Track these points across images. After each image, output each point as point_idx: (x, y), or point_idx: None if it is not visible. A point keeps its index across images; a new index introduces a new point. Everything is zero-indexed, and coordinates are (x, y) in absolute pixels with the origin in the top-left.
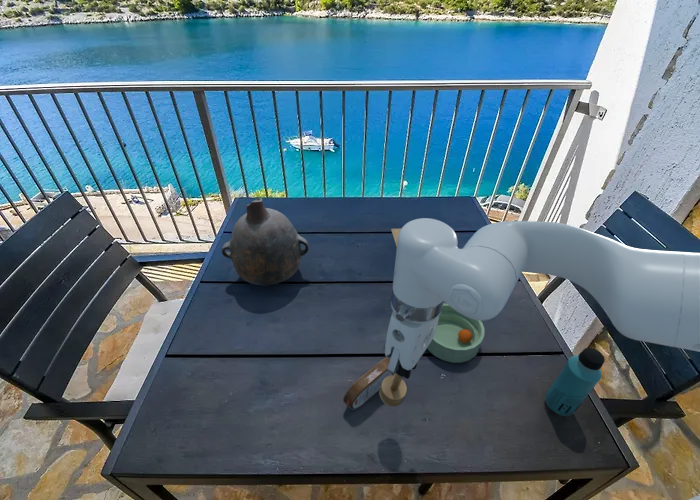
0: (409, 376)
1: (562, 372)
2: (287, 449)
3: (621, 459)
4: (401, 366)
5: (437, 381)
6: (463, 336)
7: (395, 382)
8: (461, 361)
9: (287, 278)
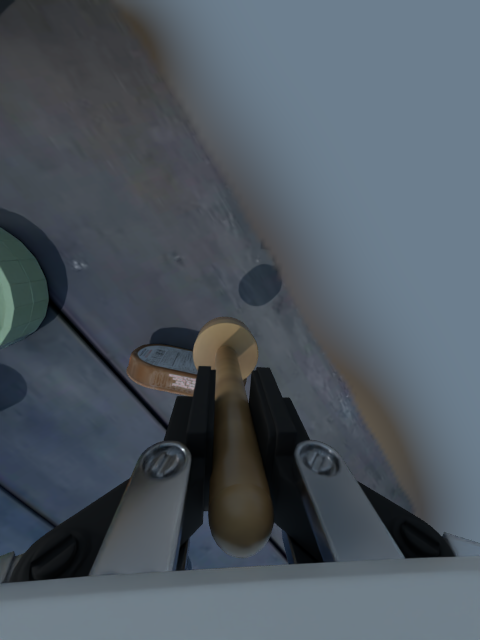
0: (266, 372)
1: None
2: (324, 400)
3: None
4: (445, 549)
5: (97, 269)
6: None
7: (240, 370)
8: (18, 242)
9: None
